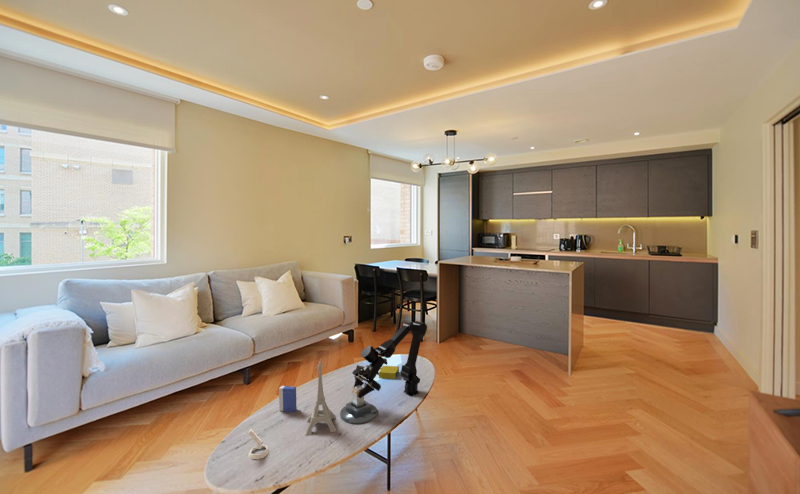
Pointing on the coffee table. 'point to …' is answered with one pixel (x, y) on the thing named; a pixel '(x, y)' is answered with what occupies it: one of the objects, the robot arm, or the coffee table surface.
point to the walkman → (287, 398)
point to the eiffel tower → (320, 409)
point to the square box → (357, 397)
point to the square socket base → (358, 413)
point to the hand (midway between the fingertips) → (356, 395)
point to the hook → (259, 446)
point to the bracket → (388, 372)
